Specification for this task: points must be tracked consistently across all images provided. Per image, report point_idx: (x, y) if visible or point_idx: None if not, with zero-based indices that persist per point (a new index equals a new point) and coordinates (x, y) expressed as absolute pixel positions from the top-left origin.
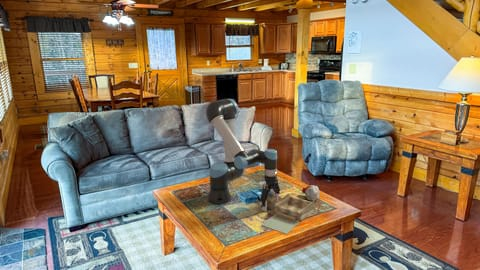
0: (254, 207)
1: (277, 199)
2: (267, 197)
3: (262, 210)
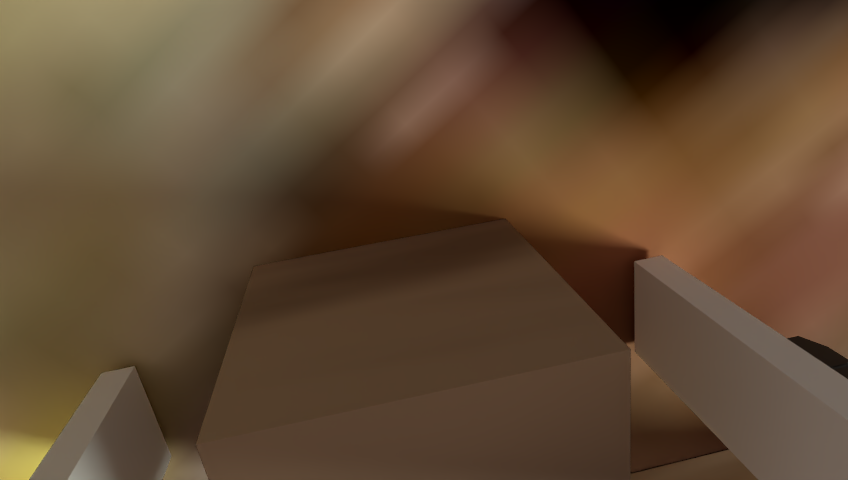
0: (31, 80)
1: (713, 416)
2: (440, 446)
3: (102, 376)
